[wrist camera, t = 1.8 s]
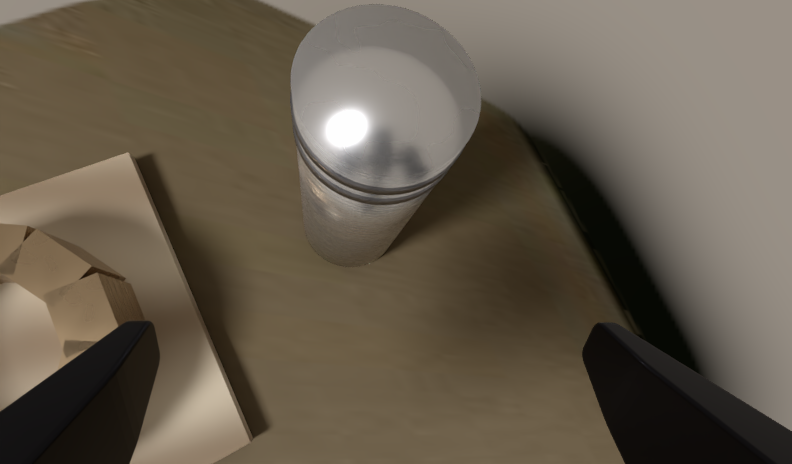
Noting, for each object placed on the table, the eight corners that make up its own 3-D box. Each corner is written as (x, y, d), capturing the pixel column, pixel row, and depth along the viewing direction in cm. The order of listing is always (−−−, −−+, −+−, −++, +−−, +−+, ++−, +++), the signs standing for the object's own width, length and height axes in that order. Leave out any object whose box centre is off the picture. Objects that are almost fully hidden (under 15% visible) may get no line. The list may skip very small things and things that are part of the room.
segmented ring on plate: (253, 438, 19) (250, 442, 18) (-143, 656, 15) (-167, 673, 14) (135, 159, 21) (128, 152, 20) (-239, 287, 17) (-265, 285, 16)
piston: (412, 244, 22) (516, 135, 11) (327, 284, 21) (342, 209, 9) (371, 165, 23) (428, -18, 11) (287, 199, 21) (255, 32, 10)
